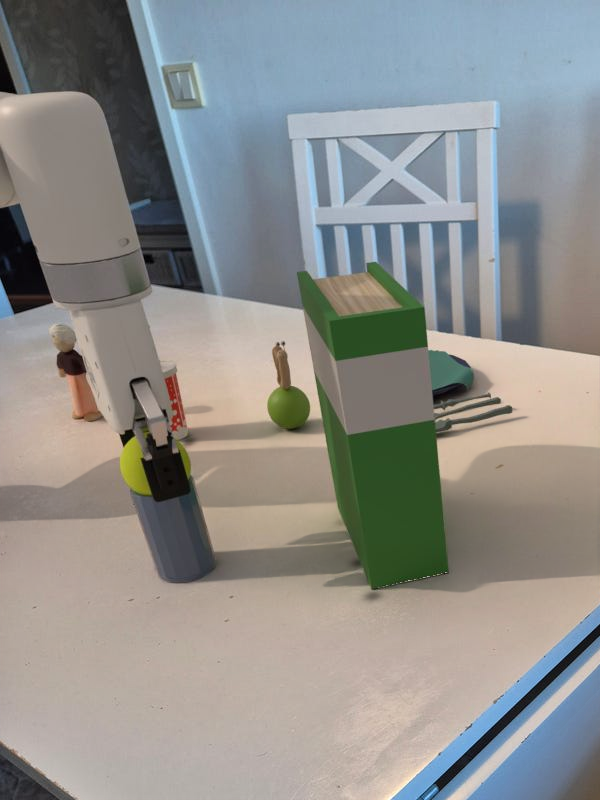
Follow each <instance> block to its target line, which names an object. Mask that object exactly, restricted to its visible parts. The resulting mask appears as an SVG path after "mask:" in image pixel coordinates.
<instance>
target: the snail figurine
mask: <svg viewBox="0 0 600 800" xmlns="http://www.w3.org/2000/svg"><path fill="white" fill-rule="evenodd" d="M274 345H275V346H273V348H272V350H271V354H272V359H273V363H274V366H275V369H276V375H277V376H276V377H277V378H276V382H277V383H278V385H279V387H276V388H275V389H274V390H273V391H272V392H271V393H270V395H269V396H268V399H267V404H266V405H267V408H266V409H267V413H268V415H269V418H270V419H271V420H272V421H273V423H274V424H275V425H277V426H278V427H281V428H283V429H287V430H293V429H297V428H300V427H301V426H303V425H304V424H305V423H306V422H307V421H308V419H309V417H310V413H311V403H310V400H309V398H308V396H307V394H306V393H305V392H304V391H303V390H302V389H300V388H299V387H297V386H294V385H292V379H291V369H290V368H291V367H290V365H289V361H288V360H289V359H288V358H289V357H288V353H287V351H286V349H285V346H286V342H285V340H282V341H276V342H275V344H274ZM281 346H282V347H281Z"/></svg>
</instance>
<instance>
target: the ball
mask: <svg viewBox="0 0 600 800" xmlns="http://www.w3.org/2000/svg"><path fill="white" fill-rule="evenodd" d="M148 433H150V432H144V433H143V435H144V437H145V439H146V438H147V434H148ZM174 439H175V438H174ZM175 441H176V444H177V446H178V449H179V450H180V453H181V457H182V460H183V464H184V467H185V471H186V474H187V478H188V480H189V477H190V475H191V472H192V463H191V458H190V456H189V452H188V451H187V449H186V448H185V446H184V445H183V444H182V443H181V442H180V440H176V439H175ZM122 448H123V447H122ZM143 457H144V456H143V454H142V451H141V449H140V446H139V444H138V441H137V439H136V436H135V437H133V438H132V439H131V440H129V441H128V442H127V444H126V445H125V446H124V448H123V449H122V450H121V453H120V458H119V468H120V472H121V476H122V477H123V479H124V481H125V483H126V485H127V486H128V487H129V489H130V488H132V489H133V490H134V491H135V492H137V493H138V494H140V495H143V496H152V494H151V491H150V488H149V484H148V481H147V478H146V475H145V472H144V469H143V465H142V462H141V459H140V458H143Z"/></svg>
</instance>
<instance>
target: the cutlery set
mask: <svg viewBox="0 0 600 800" xmlns="http://www.w3.org/2000/svg"><path fill="white" fill-rule="evenodd" d="M428 352H429V363H430V373H431V384H432V395H433V397H434V396H438V395H441V394H444V393H446V392H448V391H451V390H453V389H454V388H456V387H458V386H461V385H464V386H466V390H468V389H470V387H471V386H472V384H473V383H474V379H475V373H474V371H473V369H472V367H471V365H470V364H469V363H468V362H467V361H466V359H463V358H461V357H459V356H456V355H454V354H449V353H448V352H447V351H444V350H433V349H428ZM485 398H487V399H485ZM488 398H489V399H488ZM479 399H485V400H481V401H477V402H474V403H469V404H466V405H463V406H461V407H458V408H455V409H452V410H449V411H446V408H448V407H452V408H453V407H455V406H456V405H458V404H459V403H464V402H465V403H466V402H469V401H473V400H479ZM500 404H502V398H500V397H499V396H495V397H493V398H492V394H491V393H490V392H488V393H485V394H480V395H478V396H477V395H476V396H473V397H472V396H471V397H466V398H462V399H452V398H449V399H448V400H445V401H443V400H440V403H439V404H433V406H434V410H439V409H442V410H443V411H446V412H443V413H441V414H440V413H438V412H434V417H435V428H436V434H437V433H442V432H446V431H449V430H451V429H452V428H453V426H455V425H460V424H471V423H476V422H480V421H484V420H489V419H491V418H495V417H497V416H503V415H510V414H512V413H513V406H512V405H510V404H507V405H505V406H501V407H498V408H497V407H496V408H494V409H491V410H488V411H486V412H483V413H479V414H475V415H472V416H469V417H461V418H454V419H450V418H449V417H448V416H451V415H454V414H459V413H462V412H465V411H468V410H474V409H478V408H483V407H488V406H494V405H500ZM444 417H447V418H446V419H444V420H443V419H441V418H444ZM437 420H438V421H437Z"/></svg>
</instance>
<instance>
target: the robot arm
mask: <svg viewBox="0 0 600 800" xmlns="http://www.w3.org/2000/svg"><path fill="white" fill-rule="evenodd" d="M15 205H19V206H20V208H21V211H22V215H23V217H24V221H25V223H26V226H27V229H28V232H29V236H30V237H31V241H32V244H33V247H34V250H35V253H36V255H37V258H38V260H39V264H40V267H41V270H42V273H43V276H44V279H45V282H46V285H47V288H48V290H49V291H48V292H49V294H50V297H51V299H52V302H53V305H54V307H55V308H57V309H58V310H63V311H68V312H69V316H70V319H71V320H70V321H71V324H72V327H73V328H72V329H73V331H75V335H76V338H77V340H76V342H77V345H78V348H79V352H80V355H81V356H82V358H83V361H84V364H85V367H86V371H87V373H86V375H87V377H88V380H89V385H90V387H91V390H92V392H93V395H94V398H95V402H96V404H97V407H98V411H100V412H101V413H102V415H103V416H102V417H103V418H104V419H105V421H106V422H107V423H108V425H109V426H110V428H111V429H112V431H114V432H115V433H117V434H118V435H119V439H120V441H121V445H122V448H124V446H125V445H126V444H127V442H128V441H129V440H131V439H132V438H133V437H135V436H136V439H137V441H138V444H139V446H140V449H141V451H142V454H143V456H144V457H143V458H140V459H141V462H142V465H143V469H144V472H145V475H146V478H147V481H148V484H149V488H150V491H151V494H152V497H153V499H154V500H155V501H156V502H162V501H165V500H169V499H173V498H176V497H180V496H183V495H187V494H189V493H190V492H191V488H190V485H189V481H188V478H187V474H186V471H185V467H184V464H183V460H182V457H181V453H180V450H179V449H178V446H177V444H176V441H175V439H174V436H173V434H172V431H171V429H170V426H169V424H168V423H169V422H170V421H171V420H172V418H173V411H172V406H171V402H170V398H169V394H168V390H167V386H166V382H165V379H164V375H163V372H162V368H161V365H160V361H159V360H160V357H159V354H158V351H157V348H156V345H155V341H154V338H153V335H152V331H151V326H150V324H149V322H148V318H147V315H146V311H145V309H144V306H143V305H144V304H143V302H142V300H144V299H145V298H147V297H149V296H150V295H152V293H153V288H152V284H151V280H150V277H149V273H148V270H147V266H146V262H145V259H144V254H143V251H142V247H141V244H140V239H139V236H138V233H137V228H136V225H135V221H134V218H133V217H134V216H133V214H132V211H131V207H130V203H129V199H128V196H127V192H126V188H125V185H124V180H123V176H122V174H121V170H120V167H119V163H118V158H117V155H116V152H115V147H114V144H113V140H112V137H111V132H110V129H109V125H108V123H107V119H106V115H105V113H104V111H103V108H102V106H101V105H100V104H99V103H98V101H97V100H96V99H95V98H93V97H92V96H91V95H89V94H87V93H85V92H81V91H47V92H36V93H26V94H16V93H12V92H11V93H9V92H5V91H0V209H4V208H6V207H7V208H8V207H12V206H15ZM144 432H150V433H148V434H147V438H146V439H145V437H144V435H143V433H144Z"/></svg>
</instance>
